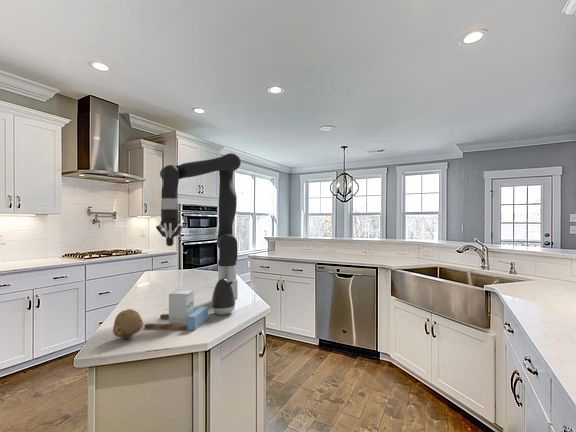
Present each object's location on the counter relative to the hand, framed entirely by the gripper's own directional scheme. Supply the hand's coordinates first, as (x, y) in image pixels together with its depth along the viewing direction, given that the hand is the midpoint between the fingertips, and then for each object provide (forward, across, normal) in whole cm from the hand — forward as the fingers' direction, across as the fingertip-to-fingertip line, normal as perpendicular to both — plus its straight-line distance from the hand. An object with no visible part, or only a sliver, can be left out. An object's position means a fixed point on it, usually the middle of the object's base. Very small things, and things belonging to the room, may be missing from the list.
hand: (169, 245), depth 142 cm
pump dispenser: (+29, +27, -5) cm, 40 cm away
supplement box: (+29, +15, -19) cm, 38 cm away
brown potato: (+29, +3, -35) cm, 46 cm away
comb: (+29, +12, -19) cm, 37 cm away
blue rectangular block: (+29, +22, -19) cm, 41 cm away
